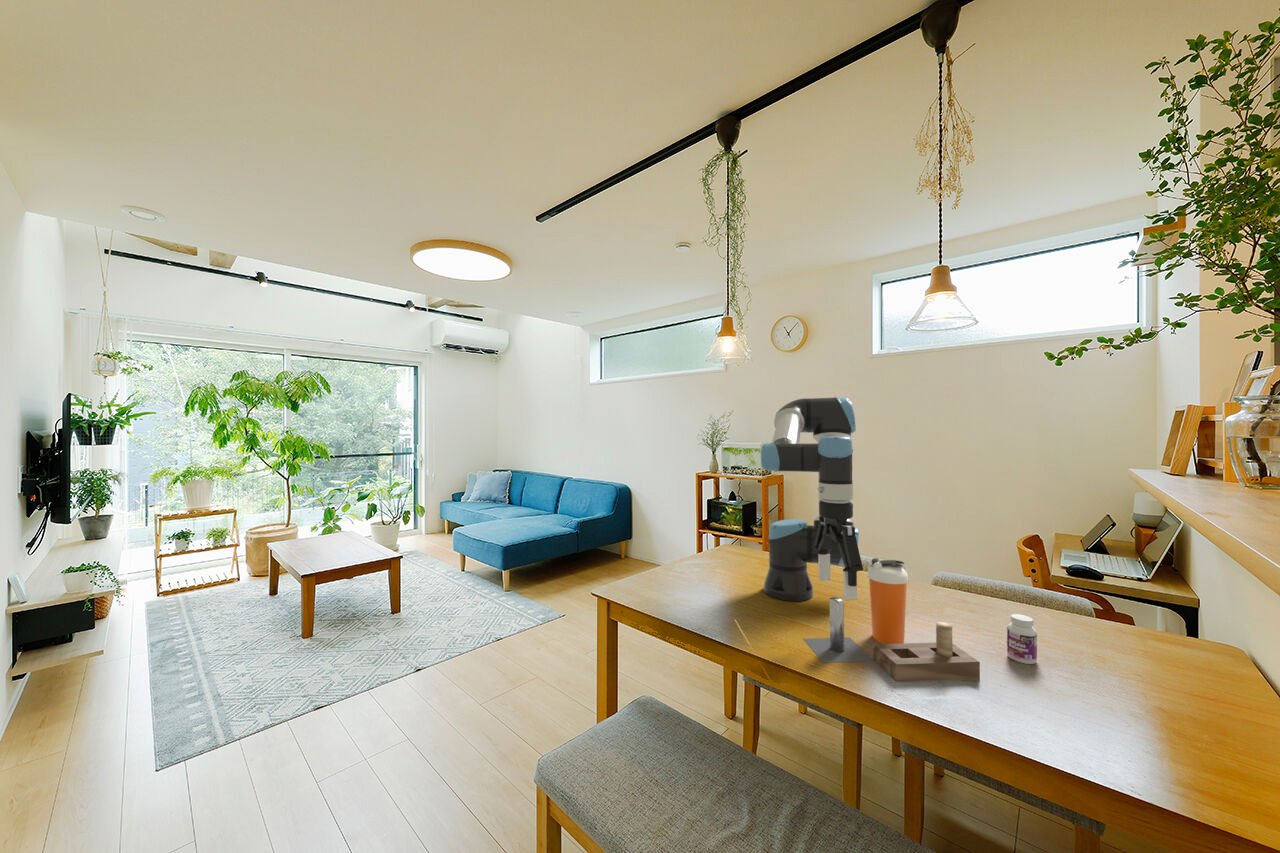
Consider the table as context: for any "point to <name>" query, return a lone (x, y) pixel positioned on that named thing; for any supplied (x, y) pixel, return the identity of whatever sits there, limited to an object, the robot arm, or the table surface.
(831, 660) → the mat
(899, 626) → the shaker bottle
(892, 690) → the table surface
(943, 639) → the dowel
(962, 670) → the hole block
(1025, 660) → the pill bottle
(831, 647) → the peg
